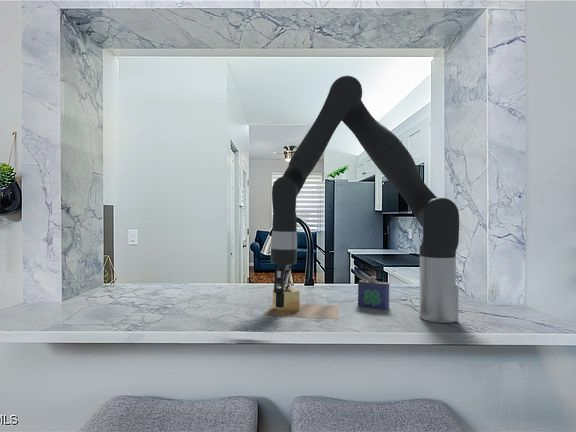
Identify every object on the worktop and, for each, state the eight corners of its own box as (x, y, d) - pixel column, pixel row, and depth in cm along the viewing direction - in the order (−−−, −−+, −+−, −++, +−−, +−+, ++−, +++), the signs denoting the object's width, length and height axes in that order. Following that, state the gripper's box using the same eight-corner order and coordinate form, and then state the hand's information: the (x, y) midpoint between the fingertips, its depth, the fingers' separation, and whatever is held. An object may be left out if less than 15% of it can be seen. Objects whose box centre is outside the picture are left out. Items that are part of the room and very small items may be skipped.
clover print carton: (390, 313, 102) (390, 276, 102) (388, 315, 100) (387, 278, 100) (359, 309, 106) (359, 274, 106) (356, 311, 104) (356, 275, 104)
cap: (299, 310, 99) (299, 289, 99) (282, 313, 96) (282, 291, 96) (289, 306, 104) (289, 286, 104) (272, 308, 101) (272, 288, 101)
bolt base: (338, 310, 105) (338, 292, 105) (338, 324, 91) (338, 303, 91) (273, 307, 108) (273, 290, 108) (263, 321, 94) (263, 300, 94)
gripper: (293, 249, 93) (291, 311, 93) (299, 245, 107) (298, 298, 107) (265, 248, 94) (264, 309, 94) (275, 244, 108) (274, 297, 108)
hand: (282, 303), depth 100 cm, fingers open, 8 cm apart
